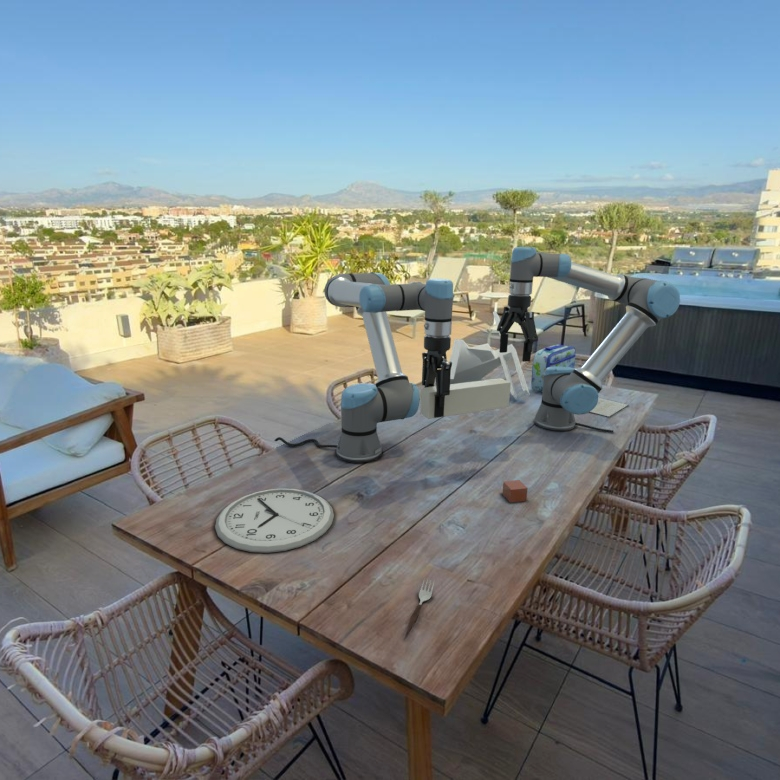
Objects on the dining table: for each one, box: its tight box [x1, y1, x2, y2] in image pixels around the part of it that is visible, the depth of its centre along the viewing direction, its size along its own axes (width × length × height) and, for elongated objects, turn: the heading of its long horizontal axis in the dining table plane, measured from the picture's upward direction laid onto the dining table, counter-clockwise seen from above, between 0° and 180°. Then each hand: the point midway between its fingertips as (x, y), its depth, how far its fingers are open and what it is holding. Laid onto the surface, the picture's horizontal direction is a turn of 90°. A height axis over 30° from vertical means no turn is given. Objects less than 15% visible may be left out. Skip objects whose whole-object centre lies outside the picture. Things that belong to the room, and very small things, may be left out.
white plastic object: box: [448, 310, 531, 400], centre depth 245 cm, size 37×45×31 cm
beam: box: [420, 377, 511, 420], centre depth 157 cm, size 28×5×8 cm, turn 114°
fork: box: [405, 577, 435, 637], centre depth 104 cm, size 3×16×2 cm, turn 160°
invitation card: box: [589, 397, 629, 418], centre depth 226 cm, size 21×1×15 cm
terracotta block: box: [502, 479, 528, 503], centre depth 148 cm, size 5×5×4 cm
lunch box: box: [530, 344, 577, 392], centre depth 247 cm, size 26×11×21 cm, turn 134°
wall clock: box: [214, 488, 335, 554], centre depth 135 cm, size 30×2×30 cm
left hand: (434, 413), depth 154 cm, fingers closed on beam, 5 cm apart
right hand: (514, 356), depth 181 cm, fingers open, 13 cm apart
